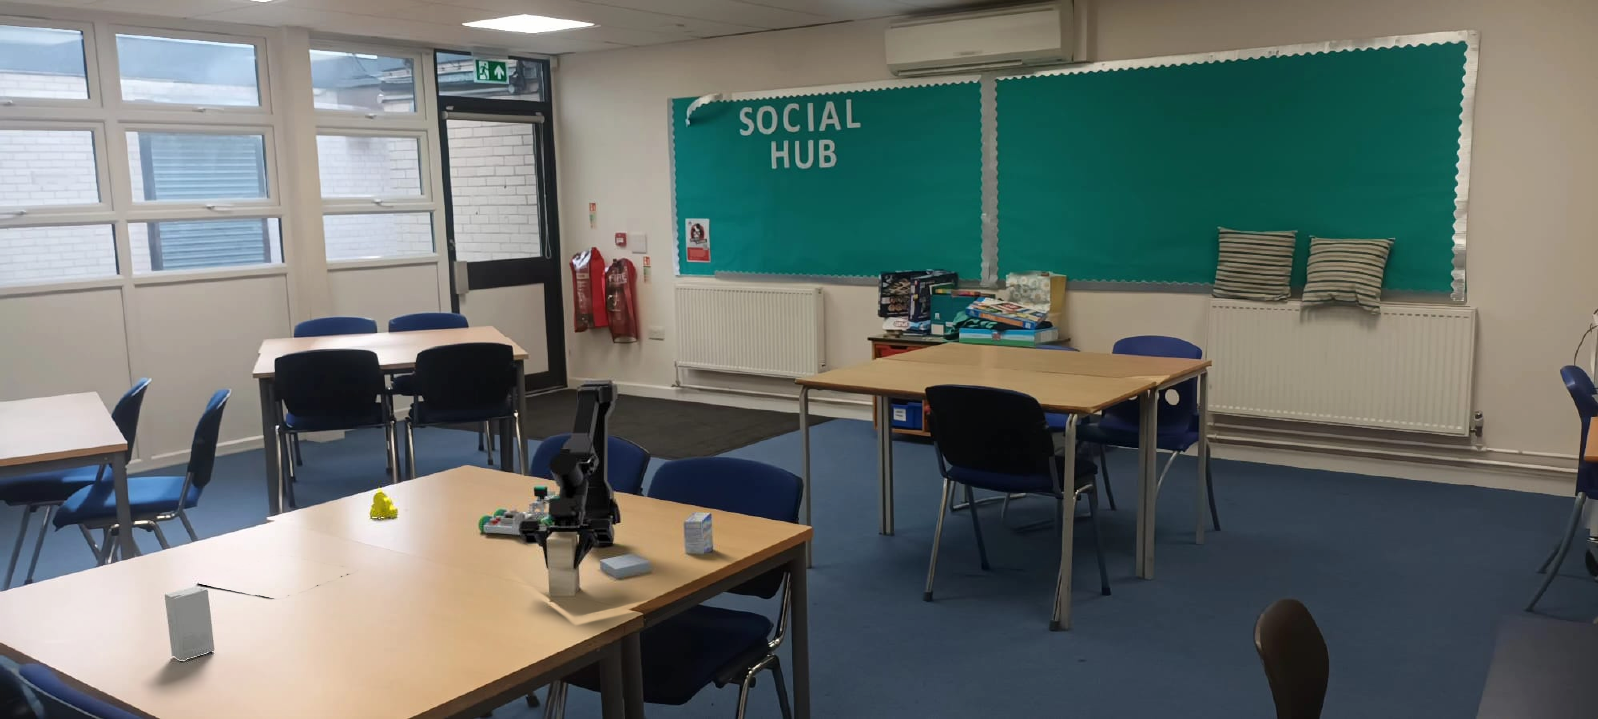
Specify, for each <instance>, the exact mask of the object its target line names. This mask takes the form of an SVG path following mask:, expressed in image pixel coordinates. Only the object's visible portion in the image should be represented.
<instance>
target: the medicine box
mask: <svg viewBox="0 0 1598 719" xmlns="http://www.w3.org/2000/svg"><path fill="white" fill-rule="evenodd" d="M712 518H713V517H712V513H711V512H694V513H693V514H691V515H690V516H689V517H688V518H687V519H686V520H685V521H684V522H683V538H684V540H683V541H684V553H685V554H695V555H696V554H697V555H704V554H705V553H708V554H710V552H711V551H712V550H713V549H714V538H713V537H714V536H713V535H714V534H713V521H712V520H713V519H712Z"/></svg>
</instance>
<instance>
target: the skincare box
mask: <svg viewBox="0 0 1598 719" xmlns="http://www.w3.org/2000/svg"><path fill="white" fill-rule="evenodd" d="M164 601H165V609H166V618H167V625H168V626H167V628H168V636H169V643H170V652H171V657H172V656H175V657H176V658H177V659H179V660H186V659H187V658H191V657H194V656H198V655H201V654H204V653H207V652H212V651H214V650H215V643H214V633H213V624H212V616H211V615H212V614H211V607H210V599H209V590H208V589H207V588H205V587H202V586H201V585H196V586H192V587H188V588H184V589H181V590H176V591H173V592H169V593H165V594H164ZM212 653H213V652H212Z"/></svg>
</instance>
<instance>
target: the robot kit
mask: <svg viewBox="0 0 1598 719" xmlns="http://www.w3.org/2000/svg"><path fill="white" fill-rule="evenodd" d="M533 492H534V493H533V496H534V497H536V499H535V501H533V502H532V503H529V504H528V510H524V511H517V510H516V509H514V508H512V509H510V510H509V511H508V510H507V509H502V508H497V509H496V510H495V511H494V513H493V516H492V515H486V514H483V515H481V517H480V518H479V520H478V529H479V531H480V532H481V533H486V534H488V533H493V534H494V533H495V534H507V535H518V536H519V535H520V536H521V534H520V532H519V525H520V523H521V522H522V521H523V520H527V519H540V521H541V523H542V524H547V525H548V526H554V522H552V521H551V515H549V514H548V512H549V511H547V512H546V511H545V510H546V509H547V504H548V505H549V499H555V498H558V497H559V493H558V494H557V495H556V491H555V490H551V491H548V486H546V485H535V486H533ZM535 510H539V511H535Z"/></svg>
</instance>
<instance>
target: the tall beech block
mask: <svg viewBox="0 0 1598 719" xmlns="http://www.w3.org/2000/svg"><path fill="white" fill-rule="evenodd" d="M578 541H579V535H577V532H553V533H552V534H551V535H550V536H549V537H548V538H547V559H548V569H547V575H548V576H547V577H548V594H549V597H574V596H575V595H576V593H577V592H578V591H579V589H580V588H581V583H580V582H581V581H580V565H579V566H578V568H577V569H574V559H575V554H576V550H577V546H578ZM553 602H554V601H553V600H552V599H551V598H549V603H553Z"/></svg>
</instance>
